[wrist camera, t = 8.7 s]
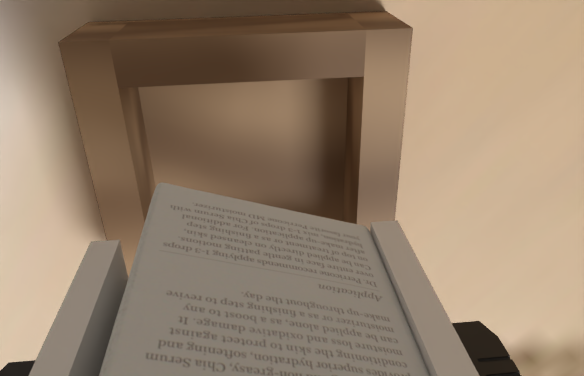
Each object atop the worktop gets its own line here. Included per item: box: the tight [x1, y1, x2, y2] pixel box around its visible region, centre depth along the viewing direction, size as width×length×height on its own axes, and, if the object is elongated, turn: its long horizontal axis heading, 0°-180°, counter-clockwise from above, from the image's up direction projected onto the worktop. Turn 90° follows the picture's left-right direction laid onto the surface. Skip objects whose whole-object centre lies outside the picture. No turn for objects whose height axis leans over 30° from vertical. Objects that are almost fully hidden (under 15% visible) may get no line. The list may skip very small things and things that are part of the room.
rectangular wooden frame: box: [58, 11, 413, 278], centre depth 19 cm, size 11×11×3 cm
